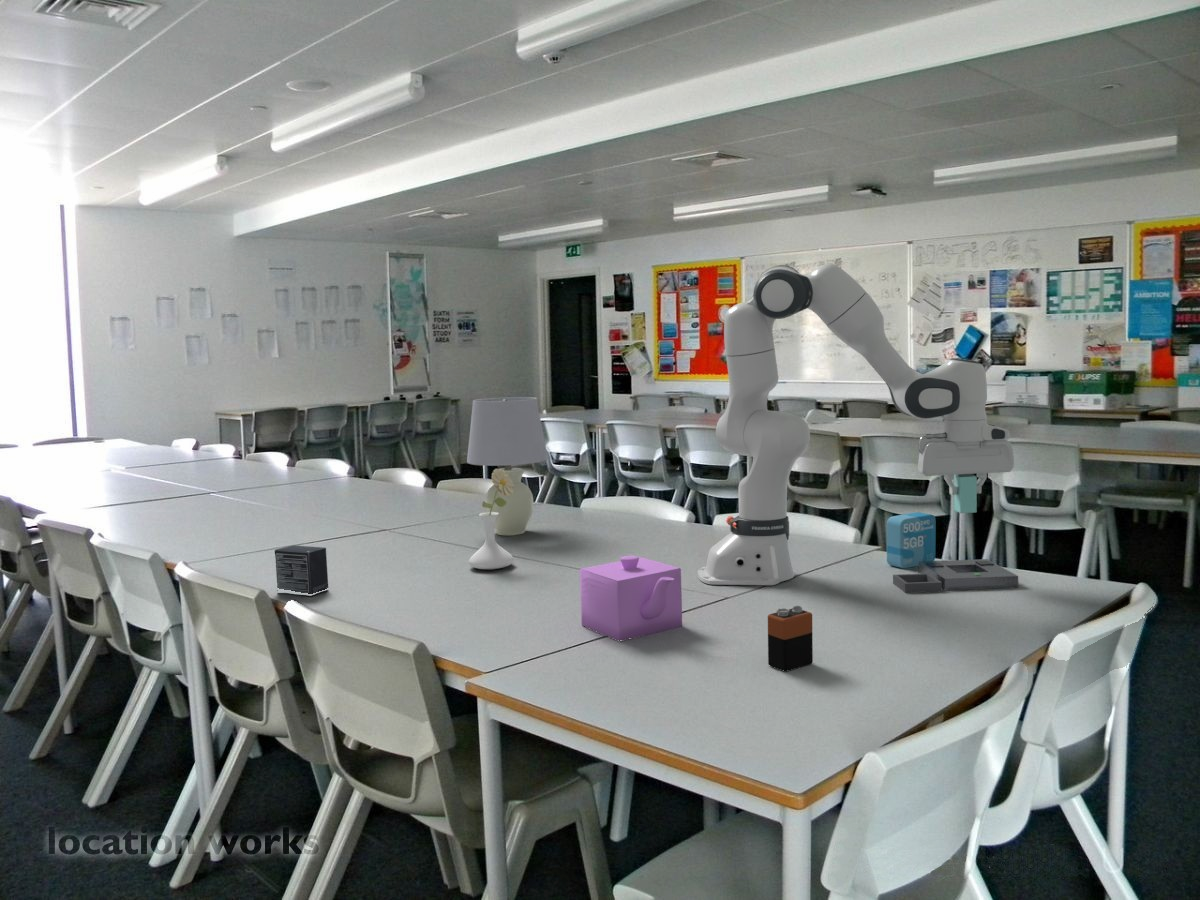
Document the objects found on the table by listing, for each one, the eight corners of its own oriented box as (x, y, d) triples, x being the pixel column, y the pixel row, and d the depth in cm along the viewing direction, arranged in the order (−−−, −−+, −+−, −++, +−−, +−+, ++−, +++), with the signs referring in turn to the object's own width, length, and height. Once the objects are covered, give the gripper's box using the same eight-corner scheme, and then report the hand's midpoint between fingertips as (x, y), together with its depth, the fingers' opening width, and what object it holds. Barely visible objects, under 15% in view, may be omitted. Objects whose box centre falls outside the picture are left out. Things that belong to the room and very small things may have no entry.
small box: (330, 590, 223) (327, 546, 221) (311, 597, 217) (308, 552, 216) (296, 586, 227) (293, 543, 226) (276, 593, 221) (273, 549, 220)
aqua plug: (960, 513, 209) (960, 473, 208) (954, 510, 213) (954, 471, 211) (976, 512, 209) (976, 473, 208) (970, 509, 213) (970, 470, 211)
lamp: (548, 539, 271) (542, 400, 267) (464, 542, 272) (457, 403, 267) (553, 523, 295) (548, 395, 290) (476, 526, 295) (470, 398, 291)
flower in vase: (485, 575, 232) (480, 474, 229) (460, 568, 240) (455, 470, 238) (528, 565, 240) (524, 468, 238) (502, 559, 249) (497, 464, 246)
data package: (900, 569, 224) (900, 519, 223) (886, 566, 228) (886, 517, 227) (935, 562, 230) (936, 513, 229) (921, 559, 234) (921, 511, 233)
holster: (905, 592, 204) (905, 583, 204) (892, 583, 212) (892, 574, 212) (941, 591, 204) (941, 582, 204) (928, 582, 212) (928, 573, 212)
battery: (766, 666, 162) (766, 609, 161) (795, 657, 166) (795, 602, 164) (785, 673, 158) (784, 614, 157) (814, 664, 162) (813, 607, 161)
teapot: (642, 651, 172) (639, 576, 170) (568, 620, 192) (566, 553, 191) (706, 635, 180) (704, 562, 178) (629, 607, 201) (627, 542, 199)
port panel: (944, 590, 205) (944, 577, 205) (918, 572, 221) (918, 560, 221) (1018, 587, 205) (1018, 575, 205) (986, 569, 221) (986, 558, 221)
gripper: (923, 435, 205) (923, 498, 207) (1017, 431, 205) (1016, 493, 207) (913, 432, 212) (913, 493, 213) (1004, 428, 212) (1004, 489, 213)
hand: (965, 493), depth 210 cm, fingers closed on aqua plug, 4 cm apart
